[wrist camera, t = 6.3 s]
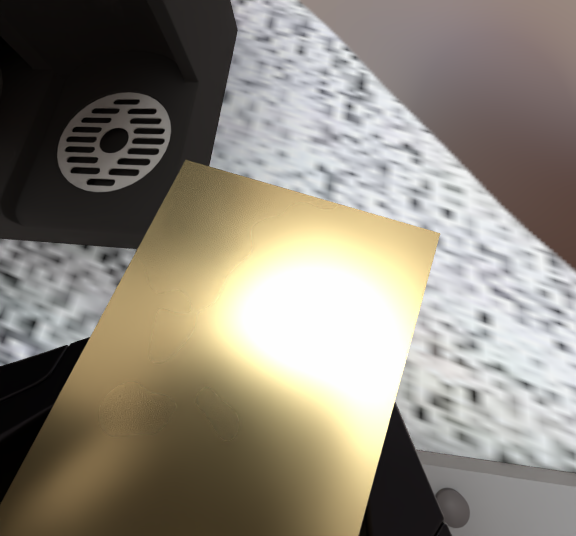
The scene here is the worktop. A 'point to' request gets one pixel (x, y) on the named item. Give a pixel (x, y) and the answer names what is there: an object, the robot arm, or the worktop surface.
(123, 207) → the coffee maker
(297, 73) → the worktop surface
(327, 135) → the worktop surface
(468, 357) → the worktop surface
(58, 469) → the t key
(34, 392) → the robot arm
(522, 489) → the slot plate
